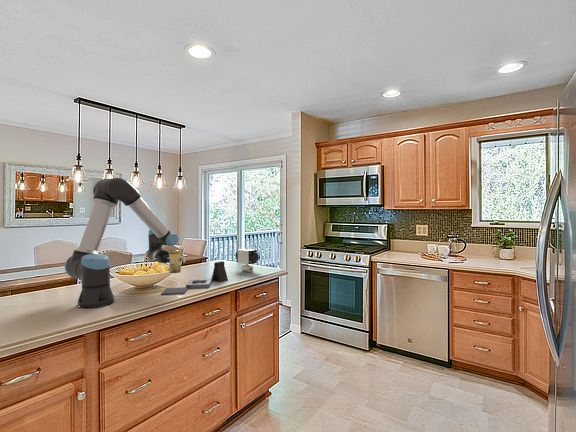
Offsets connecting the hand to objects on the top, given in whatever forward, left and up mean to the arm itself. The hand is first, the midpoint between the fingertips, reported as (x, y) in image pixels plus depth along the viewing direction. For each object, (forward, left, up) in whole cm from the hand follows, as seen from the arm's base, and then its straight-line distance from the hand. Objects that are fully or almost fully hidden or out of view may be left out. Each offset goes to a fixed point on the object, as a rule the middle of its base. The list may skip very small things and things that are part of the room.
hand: (179, 260), depth 171 cm
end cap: (+4, +3, -7) cm, 9 cm away
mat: (+4, +3, -18) cm, 19 cm away
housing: (+18, -8, -18) cm, 26 cm away
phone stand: (+29, -19, -18) cm, 39 cm away
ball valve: (+56, -37, -18) cm, 69 cm away
